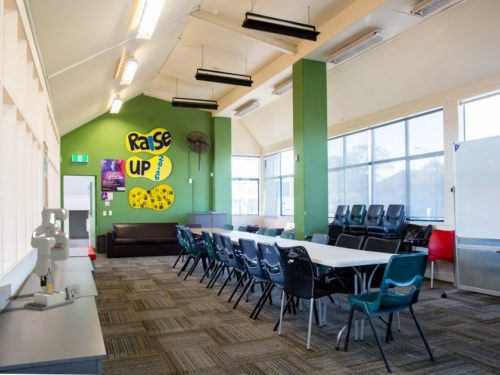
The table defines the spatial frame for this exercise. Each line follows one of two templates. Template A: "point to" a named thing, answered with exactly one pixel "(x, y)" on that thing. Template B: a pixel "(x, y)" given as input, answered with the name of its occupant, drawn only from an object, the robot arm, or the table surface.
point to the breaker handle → (49, 288)
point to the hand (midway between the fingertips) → (43, 286)
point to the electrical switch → (73, 291)
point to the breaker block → (48, 300)
